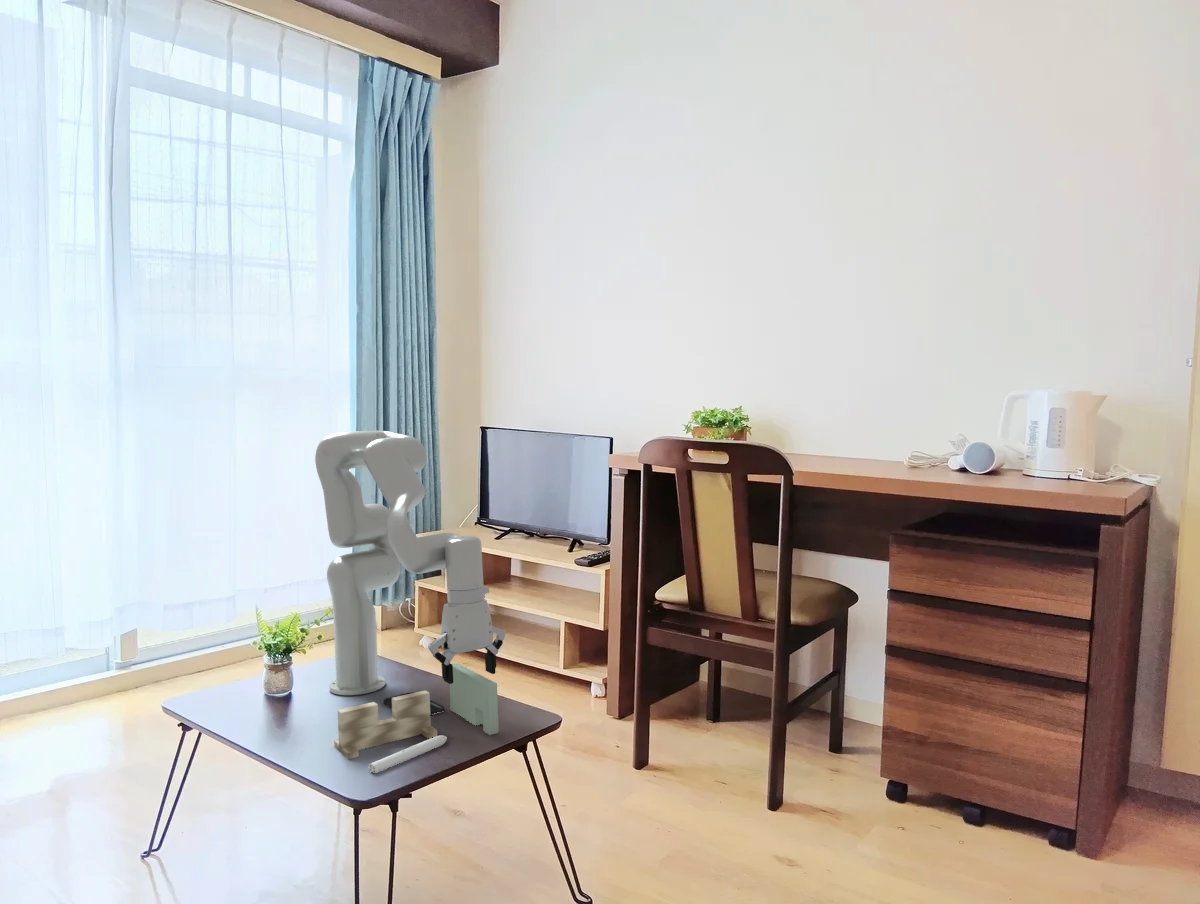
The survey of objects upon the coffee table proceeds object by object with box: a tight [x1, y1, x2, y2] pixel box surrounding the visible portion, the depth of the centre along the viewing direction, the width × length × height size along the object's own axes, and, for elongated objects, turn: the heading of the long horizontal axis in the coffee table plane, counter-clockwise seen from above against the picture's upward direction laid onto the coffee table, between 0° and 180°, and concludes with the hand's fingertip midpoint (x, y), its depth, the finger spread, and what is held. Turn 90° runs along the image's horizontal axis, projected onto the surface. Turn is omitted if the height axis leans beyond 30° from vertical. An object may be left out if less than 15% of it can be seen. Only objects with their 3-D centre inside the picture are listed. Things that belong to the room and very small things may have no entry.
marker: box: [367, 734, 448, 774], centre depth 163 cm, size 18×2×2 cm, turn 142°
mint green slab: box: [448, 662, 500, 736], centre depth 180 cm, size 18×2×10 cm, turn 35°
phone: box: [383, 691, 446, 715], centre depth 190 cm, size 8×1×15 cm
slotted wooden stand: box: [333, 690, 438, 760], centre depth 171 cm, size 18×8×8 cm, turn 125°
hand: (469, 677), depth 181 cm, fingers open, 9 cm apart
